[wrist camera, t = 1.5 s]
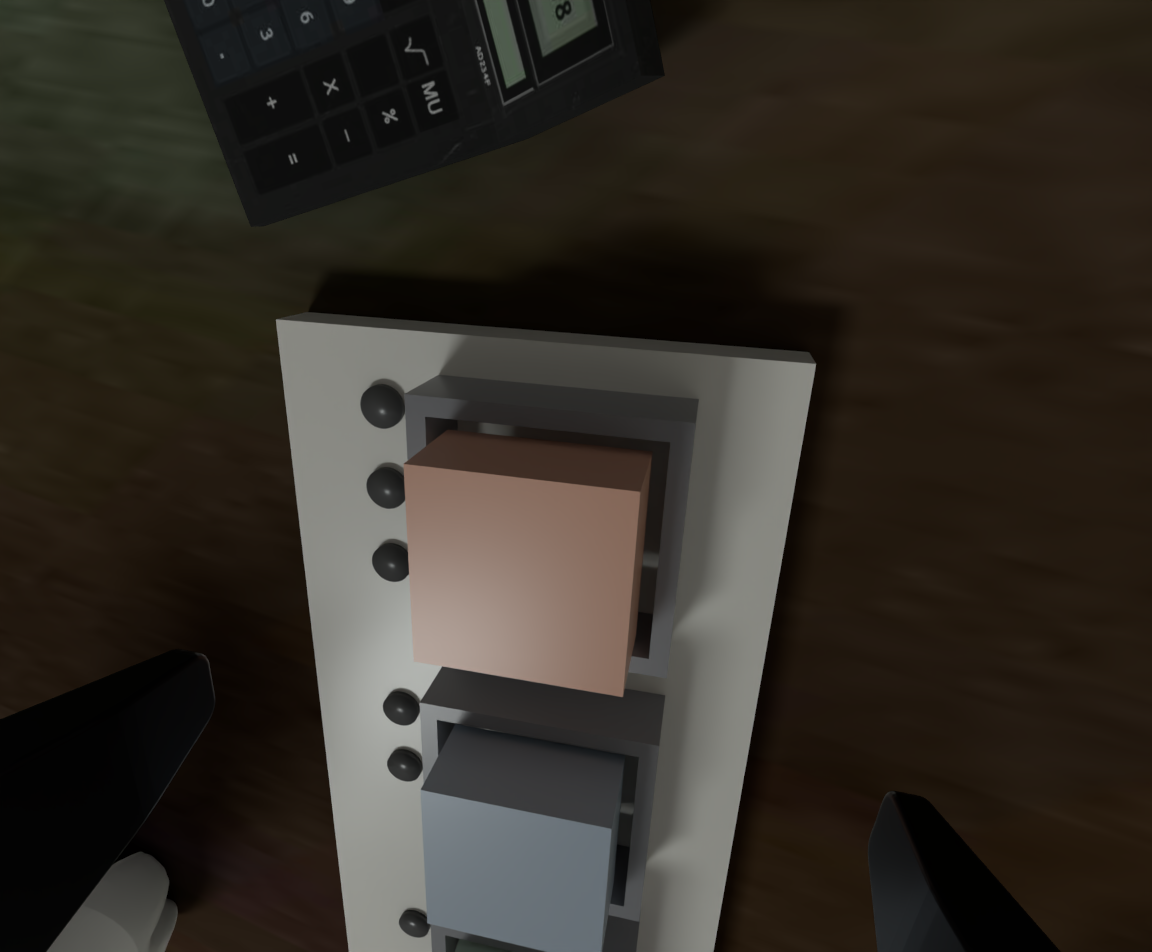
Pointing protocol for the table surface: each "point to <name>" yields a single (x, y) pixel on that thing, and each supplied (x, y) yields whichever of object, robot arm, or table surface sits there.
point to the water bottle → (123, 911)
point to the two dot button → (521, 839)
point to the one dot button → (476, 947)
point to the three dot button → (527, 557)
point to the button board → (547, 712)
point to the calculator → (396, 84)
